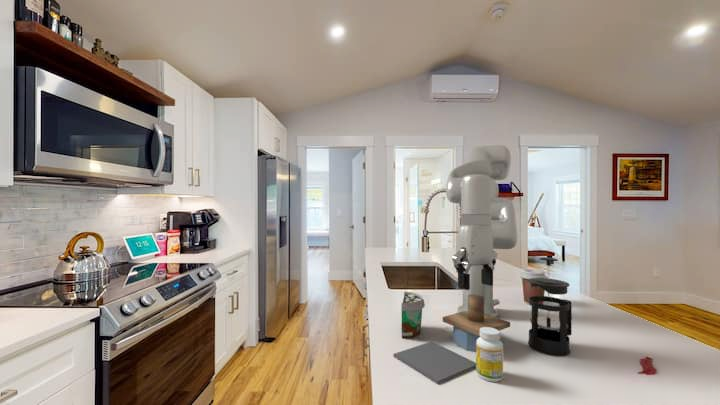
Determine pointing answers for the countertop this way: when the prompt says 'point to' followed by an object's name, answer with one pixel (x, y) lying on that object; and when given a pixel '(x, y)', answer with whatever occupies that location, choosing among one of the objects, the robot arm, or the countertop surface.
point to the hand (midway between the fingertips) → (475, 286)
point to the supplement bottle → (489, 355)
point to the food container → (411, 314)
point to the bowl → (464, 339)
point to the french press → (546, 329)
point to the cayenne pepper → (647, 366)
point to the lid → (475, 317)
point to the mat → (435, 361)
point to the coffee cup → (527, 288)
